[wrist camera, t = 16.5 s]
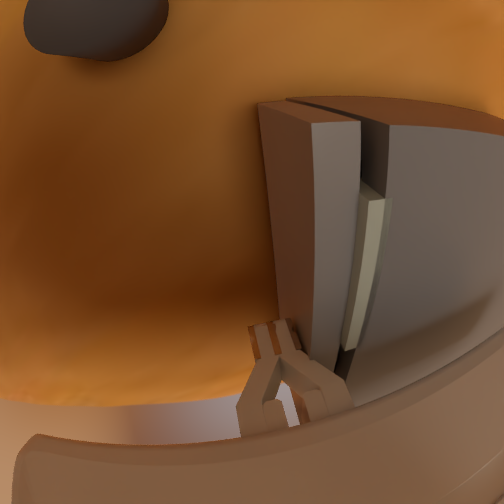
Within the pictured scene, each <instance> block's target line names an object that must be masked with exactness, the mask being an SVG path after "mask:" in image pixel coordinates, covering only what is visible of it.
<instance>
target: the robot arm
mask: <svg viewBox="0 0 504 504" xmlns="http://www.w3.org/2000/svg"><path fill="white" fill-rule="evenodd" d="M248 331H249V336H250V340H251V345H252V349H253V354H254V358H255V363H256V364H255V366H254V369H253V371H252V373H251V375H250V377H249V379H248V382H247V384H246V386H245V388H244V390H243V392H242V394H241V397H240V399H239V401H238V403H237V405H236V410H237V416H238V421H239V428H240V434H241V437H239V438H233V439H226V440H218V441H209V442H199V443H188V444H168V445H126V444H107V443H96V442H87V441H78V440H71V439H64V438H58V437H53V436H48V435H43V434H35V435H34V436H33V437H31V438H30V439H29V440H28V442H27V443H26V444H25V445H24V446H23V448H22V449H21V450H20V451H19V453H18V455H17V458H16V461H15V466H14V473H13V482H12V504H504V327H502V328H501V329H500V330H498V331H497V332H496V333H494V334H493V335H492V336H490V337H489V338H487V339H486V340H485V341H483V342H482V343H480V344H479V345H477V346H476V347H474V348H473V349H471V350H470V351H468V352H467V353H465V354H463V355H462V356H460V357H459V358H457V359H455V360H454V361H452V362H450V363H449V364H447V365H445V366H443V367H442V368H440V369H438V370H436V371H434V372H433V373H431V374H429V375H427V376H425V377H423V378H421V379H419V380H417V381H415V382H413V383H411V384H409V385H407V386H405V387H403V388H401V389H399V390H396V391H394V392H392V393H390V394H387V395H385V396H383V397H380V398H378V399H375V400H373V401H370V402H368V403H365V404H363V405H360V406H357V407H355V406H354V403H353V401H352V399H351V396H350V394H349V391H348V389H347V387H346V384H345V382H344V380H343V379H342V378H340V377H339V376H337V375H336V374H334V373H333V372H331V371H330V370H328V369H327V368H325V367H324V366H323V365H321V364H320V363H318V362H317V361H315V360H309V357H308V355H307V354H305V353H304V352H302V347H301V344H300V341H299V339H298V336H297V334H296V333H294V325H293V322H292V320H291V318H286V319H280V320H276V321H270V322H266V323H262V324H257V325H253V326H248ZM281 380H282V381H284V382H285V383H286V384H287V385H288V386H289V387H290V388H291V389H292V390H294V391H295V392H296V393H297V394H298V395H299V396H300V397H302V398H303V402H302V413H301V418H302V422H303V424H301V425H297V426H293V427H289V426H288V422H287V419H286V416H285V412H284V408H283V405H282V401H280V400H278V399H275V397H276V394H277V392H278V389H279V386H280V383H281Z"/></svg>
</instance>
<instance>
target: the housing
mask: <svg viewBox="0 0 504 504" xmlns="http://www.w3.org/2000/svg"><path fill="white" fill-rule="evenodd" d="M286 101H289V102H293V103H297V104H302V105H306V106H310V107H314V108H318V109H322V110H325V111H329V112H332V113H336V114H339V115H343V116H346V117H349V118H352V119H355V120H359V121H361V159H362V177H360V189H359V205H358V219H357V231H356V241H355V251H354V259H353V267H352V275H351V282H350V289H349V296H348V302H347V308H346V314H345V320H344V325H343V330H342V336H341V341H340V342H341V347H340V351H339V356H338V360H337V361H336V364H335V368H334V374H336V375H337V376H339V377H340V378H342V379H343V380H344V382H345V384H346V387H347V389H348V391H349V394H350V396H351V399H352V401H353V403H354V406H355V407H357V406H360V405H363V404H365V403H368V402H370V401H373V400H375V399H378V398H380V397H383V396H385V395H387V394H390V393H392V392H394V391H396V390H399V389H401V388H403V387H405V386H407V385H409V384H411V383H413V382H415V381H417V380H419V379H421V378H423V377H425V376H427V375H429V374H431V373H433V372H434V371H436V370H438V369H440V368H442V367H443V366H445V365H447V364H449V363H450V362H452V361H454V360H455V359H457V358H459V357H460V356H462V355H463V354H465V353H467V352H468V351H470V350H471V349H473V348H474V347H476V346H477V345H479V344H480V343H482V342H483V341H485V340H486V339H487V338H489V337H490V336H492V335H493V334H494V333H496V332H497V331H498V330H500V329H501V328H502V327H504V120H503V119H501V118H498V117H495V116H493V115H490V114H487V113H483V112H479V111H474V110H470V109H465V108H460V107H455V106H450V105H444V104H438V103H431V102H424V101H416V100H407V99H397V98H384V97H365V96H315V97H295V98H286Z"/></svg>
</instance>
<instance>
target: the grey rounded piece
mask: <svg viewBox="0 0 504 504" xmlns="http://www.w3.org/2000/svg"><path fill="white" fill-rule="evenodd" d="M168 10H169V4H168V0H29V1H28V3H27V6H26V9H25V14H24V31H25V35H26V38H27V40H28V41H29V43H30V44H31V45H32V46H33V47H34V48H35V49H37V50H38V51H40V52H43V53H46V54H53V55H63V56H72V57H79V58H86V59H93V60H99V61H116V60H121V59H124V58H127V57H129V56H132V55H134V54H136V53H138V52H139V51H141V50H142V49H144V48H145V47H146V46H148V45H149V44H150V43H151V42H152V41H153V40H154V39H155V38H156V37H157V36H158V34H159V33H160V31H161V30H162V28H163V26H164V24H165V22H166V20H167V16H168Z"/></svg>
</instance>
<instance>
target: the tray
mask: <svg viewBox="0 0 504 504" xmlns="http://www.w3.org/2000/svg"><path fill="white" fill-rule="evenodd" d="M257 107H258V115H259V123H260V131H261V139H262V148H263V156H264V165H265V174H266V182H267V192H268V201H269V210H270V220H271V230H272V240H273V250H274V261H275V271H276V283H277V294H278V306H279V318H280V319H286V318H291V320H292V322H293V325H294V333H296V334H297V336H298V339H299V341H300V344H301V347H302V352H304V353H305V354H307V355H308V357H309V360H315V361H317V362H318V363H320V364H321V365H323V366H324V367H325V368H327V369H328V370H330V371H331V372H333V373H334V368H335V364H336V361H337V360H338V356H339V351H340V347H341V342H340V341H341V336H342V330H343V325H344V320H345V314H346V308H347V302H348V296H349V289H350V282H351V275H352V267H353V259H354V251H355V241H356V231H357V219H358V205H359V189H360V177H362V159H361V121H359V120H355V119H352V118H349V117H346V116H343V115H339V114H336V113H332V112H329V111H325V110H322V109H318V108H314V107H310V106H306V105H302V104H297V103H293V102H289V101H274V102H264V103H257ZM290 390H291V393H292V397H293V401H294V405H295V408H296V412H297V415H298V419H299V422H300V425H301V424H303V422H302V418H301V413H302V402H303V398H302V397H300V396H299V395H298V394H297V393H296V392H295V391H294V390H292V389H291V388H290Z"/></svg>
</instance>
